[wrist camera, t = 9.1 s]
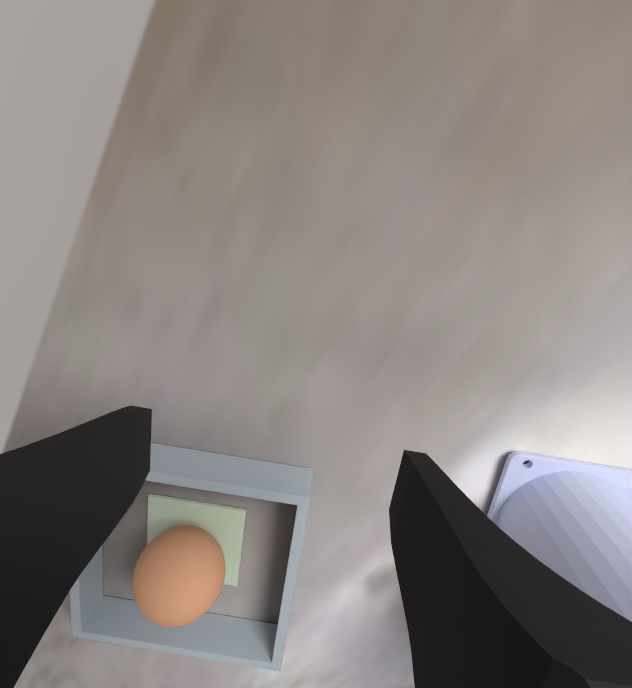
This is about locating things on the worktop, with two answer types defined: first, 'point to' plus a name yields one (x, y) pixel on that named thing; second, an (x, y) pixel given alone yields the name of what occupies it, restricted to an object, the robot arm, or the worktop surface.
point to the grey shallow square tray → (228, 529)
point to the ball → (178, 576)
